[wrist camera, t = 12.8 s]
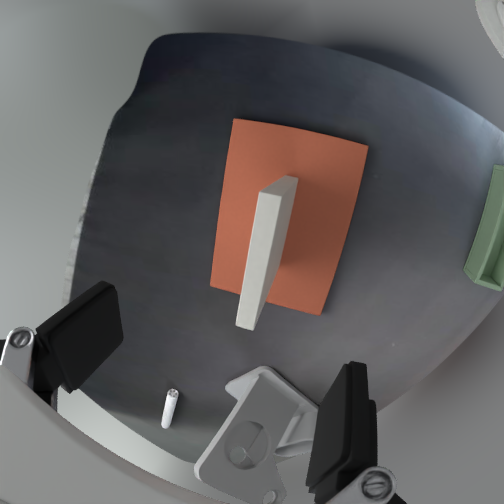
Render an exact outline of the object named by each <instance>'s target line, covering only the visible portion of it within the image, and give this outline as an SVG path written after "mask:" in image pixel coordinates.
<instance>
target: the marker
mask: <svg viewBox="0 0 504 504" xmlns="http://www.w3.org/2000/svg"><path fill="white" fill-rule="evenodd" d="M177 398H178V391H177V390H175V389H170V390H169V391H168V394H167V399H166V403H165V408H164V412H163V417H162V422H161V425H162V427H163V428H168V427H169V426H170V423H171V420H172V416H173V412H174V409H175V405H176V402H177Z"/></svg>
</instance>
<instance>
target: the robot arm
mask: <svg viewBox="0 0 504 504" xmlns="http://www.w3.org/2000/svg"><path fill="white" fill-rule="evenodd" d="M496 10H497V15H498V17H499V20H500V22H501V25H502V27H503V29H504V0H499V1H498V2H497V4H496ZM36 332H37V334H36V335H34V332H33V331H32V330H31V329H30V328H28V327H19V328H16V329H14V330H13V331H12V332H11V333H10V334H9V335H8V337H7V339H6V340H0V504H228V503H224V502H221V501H218V500H215V499H212V498H209V497H206V496H203V495H200V494H198V493H195V492H192V491H190V490H187V489H185V488H182V487H180V486H177V485H175V484H173V483H170V482H168V481H166V480H164V479H162V478H159V477H157V476H155V475H153V474H151V473H149V472H147V471H145V470H143V469H141V468H139V467H137V466H135V465H134V464H132V463H130V462H128V461H127V460H125V459H123V458H121V457H120V456H118V455H116V454H115V453H113V452H111V451H110V450H108V449H107V448H105V447H103V446H102V445H100V444H99V443H97V442H96V441H94V440H93V439H91V438H90V437H89V436H87V435H85V434H84V433H83V432H81V431H80V430H79V429H77V428H76V427H75V426H74V425H72V424H71V423H70V422H68V421H67V420H66V419H65V418H63V417H62V416H61V415H60V414H58V413H57V394H58V387H59V386H60V385H61V387H62V388H63V389H64V390H65V391H67V392H68V393H69V394H70V393H71V392H72V391H73V390H77V389H78V388H79V387H80V386H81V385H82V384H83V383H84V382H85V381H86V380H87V379H88V378H89V377H90V375H91V374H92V373H93V372H94V371H95V370H96V369H97V368H98V367H99V366H100V365H101V364H102V363H103V362H104V361H105V360H106V359H107V358H108V357H109V356H110V355H111V353H112V352H113V351H114V350H115V349H116V348H117V347H118V346H119V345H120V344H121V343H122V341H123V331H122V324H121V318H120V311H119V303H118V295H117V291H116V290H115V287H114V285H112V284H110V283H107V282H105V281H100V282H99V283H97V284H96V285H94V286H93V287H91V288H90V289H89V290H87V291H86V292H84V293H83V294H81V295H80V296H79V297H77V298H76V299H75V300H73V301H72V302H70V303H69V304H68V305H66V306H65V307H64V308H62V309H61V310H60V311H58V312H57V313H55V314H54V315H53V316H52V317H50V318H49V319H48V320H46V321H45V322H44V323H42V324H41V325H40V326H39V327H37V328H36ZM306 486H309V493H315V499H314V501H315V504H407V503H406V502H405V501H403V500H402V499H401V498H400V497H399V496H398V495H397V494H396V493H395V491H396V487H397V482H396V478H395V476H394V475H393V473H392V472H391V471H390V470H388V469H386V468H384V467H380V466H377V415H376V403H375V401H374V400H369V395H368V379H367V367H366V364H364V363H359V362H354V361H351V362H350V363H349V364H344V365H343V367H342V369H341V370H340V372H339V374H338V376H337V377H336V379H335V381H334V383H333V384H332V386H331V388H330V389H329V391H328V393H327V394H326V396H325V398H324V399H323V401H322V402H321V404H320V406H319V409H318V413H317V420H316V427H315V433H314V440H313V446H312V452H311V458H310V463H309V469H308V474H307V479H306Z"/></svg>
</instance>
